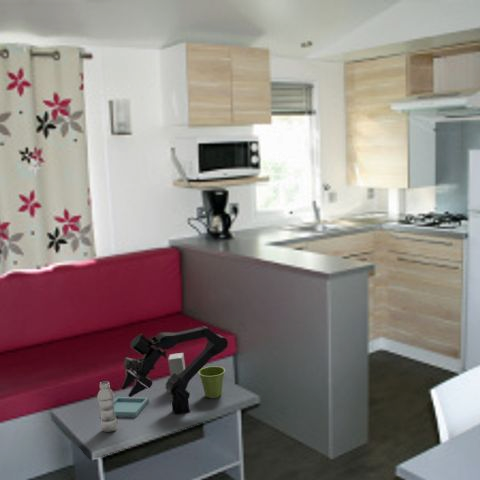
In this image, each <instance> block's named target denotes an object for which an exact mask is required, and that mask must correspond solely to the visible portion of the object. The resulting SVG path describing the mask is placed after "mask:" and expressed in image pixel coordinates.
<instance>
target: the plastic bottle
mask: <svg viewBox="0 0 480 480" xmlns="http://www.w3.org/2000/svg"><path fill="white" fill-rule="evenodd" d="M110 387H111V385H110V382H109V381H107V380H105V381H101V382H99V389H100V390H99V391H98V393H97V397H96V398H97V401H98V403H99V409H100V419H101V420H100V427H101V430H102V431H103V432H106V433H111V432H114V431H116V430H117V428H118V426H119V422H118V419H117V418H118V417H116V415H115V410H114V400H115V394H114V391H113V390H112V389H111V388H110Z"/></svg>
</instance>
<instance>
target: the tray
mask: <svg viewBox="0 0 480 480" xmlns="http://www.w3.org/2000/svg"><path fill="white" fill-rule="evenodd" d="M149 401H150V400H149V397H129V396H128V397H127V396H125V397H124V396H122V397H121V396H118V397H116V398H114V410H115V415H116V418H137V417H138V416H139V415H140V413H142V411H143V410H144V409H145V407H146V406H147V405H148V404H149V403H150V402H149Z"/></svg>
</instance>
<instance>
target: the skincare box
mask: <svg viewBox="0 0 480 480" xmlns="http://www.w3.org/2000/svg"><path fill="white" fill-rule="evenodd" d="M184 355H185V354H184V352H180V353H179V352H178V353H171V354H169V355H168V358H167V361H168V368H169V369H168V370H169V374H170V377H171V376H172V375H173V374H174V373H175V374H177V375H178V374H180V373H182V372H183V371H184V370H185V369H186V368H187V367H186V363H185V356H184ZM188 387H189V386H187V388H186V391H187V390H188Z"/></svg>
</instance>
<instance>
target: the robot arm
mask: <svg viewBox="0 0 480 480" xmlns="http://www.w3.org/2000/svg"><path fill="white" fill-rule="evenodd" d="M202 338H205V339H206V340H207V342H206V344H205V346H204V347H205V348H204V349H202V351H201V352H200V353H199V354H198V355H197V356H196V357H195V358H194V359H193V360H192V361H191V362H190V363H189V364H188V365H187V366H186V367H185V368H186V369H185V370H184V371H183V372H182V373H180V374H178V375H177V374H175V373H174V374H173V375H172V376H170V377H168V379H167V381H166V383H165V390H166V392H168V393H169V394H171V397H172V399H171V401H170V403H171V410H172V412H173V413H174V415H178V414H185V413H190V412H191V409H190V404H189V398H190V394H191V393H190V392H189V391H187V390H186V388H187V389H188V387H189V386H188V385H189V383H190V381H191V380H192V379H193V378H194V377H195V376H196V375H197V374H198V371H199V370H200V369H202V368H204V366H206V364H208V362H209V361H210V360H211V359H212V358H213V357H215V356H217V355H219V354H222V352H224V351H225V350H226V349H227V348H228V346H229V345H228V344H229V341H228V339H227V338H226V337H224V336H222V335H221V334H217V333H215V332H213V331H212V330H211V329H210V328H209V327H208V326H205V325H203V326H199V327H196V328H191V329H186V330H183V331H178V332H169V331H168V332H167V331H166V332H163V331H162V332H159V333H157V334H156V336H152V337H150V338H147V337H146V336H145V335H143V334H142V333H140V334H139V335H137V336H135V337H134V338H133V339H132V340H131V342H130V344H129V346H130V349H132V350H134V351H135V352H137V353H138V354H139V355H141V356H142V355H143V357H139V358H138V359H135V358H130V357H125V359H124V360H123V361H124V362H123V366H124V368H125V369H124V371H125V377H124V381H123V383H122V386H121V390H123V391H124V390H126V389H127V388H129V386H131V385H132V384H133V383H134V384H133V386H132V388H131V389H130V391H129V393H128V395H127V396H128V397H131V398H133V396H135V395H137V394H138V393H141V392H142V391H145V390H147V389H148V388H149V389H151V387H152V386H153V381H152V380H151V379H150V378H149V374H150V372H151V371H152V370H153V371H154V370H155V367H154V366H156V364H157V363H158V362H159V360H160V359H161V358H162V357H164V359H166V358H167V350H169V349H171V348H174V347H176V346H177V345H178V344H181V343H185V342H190V341H194V340H199V339H202ZM187 386H188V387H187Z"/></svg>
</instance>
